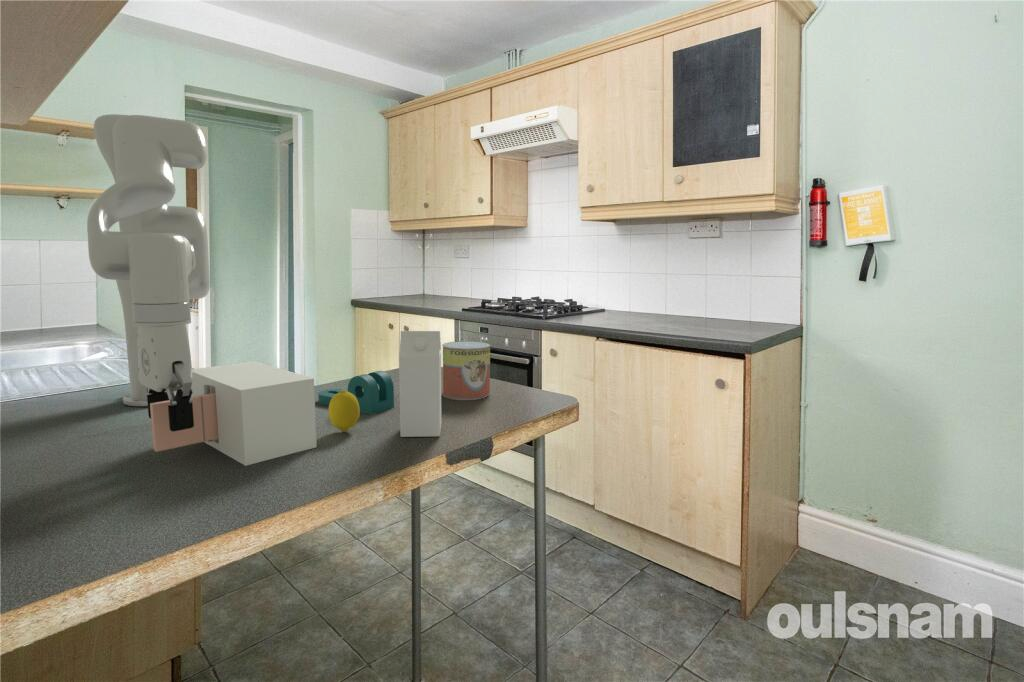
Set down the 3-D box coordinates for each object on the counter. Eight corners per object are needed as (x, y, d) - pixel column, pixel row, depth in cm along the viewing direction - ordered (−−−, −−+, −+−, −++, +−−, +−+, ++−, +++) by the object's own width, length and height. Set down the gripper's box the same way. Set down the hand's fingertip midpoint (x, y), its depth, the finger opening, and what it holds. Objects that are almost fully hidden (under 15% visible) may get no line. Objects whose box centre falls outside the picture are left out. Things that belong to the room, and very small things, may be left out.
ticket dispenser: (240, 467, 87) (235, 391, 85) (187, 436, 102) (182, 370, 100) (316, 447, 97) (313, 378, 95) (258, 421, 111) (254, 361, 109)
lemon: (332, 438, 101) (330, 394, 100) (326, 429, 106) (325, 388, 105) (363, 434, 104) (362, 391, 103) (356, 426, 109) (355, 385, 108)
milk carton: (404, 426, 109) (402, 328, 106) (441, 425, 110) (440, 328, 107) (400, 437, 102) (398, 333, 99) (439, 437, 103) (439, 333, 100)
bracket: (394, 408, 123) (393, 372, 122) (371, 415, 117) (370, 378, 116) (335, 396, 132) (334, 363, 131) (312, 403, 126) (310, 368, 125)
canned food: (454, 402, 127) (454, 349, 126) (435, 391, 137) (435, 343, 135) (498, 396, 133) (499, 346, 131) (477, 387, 143) (477, 340, 141)
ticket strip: (156, 451, 88) (152, 404, 86) (153, 450, 88) (149, 403, 87) (270, 427, 101) (268, 385, 100) (267, 425, 102) (264, 384, 101)
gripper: (117, 312, 90) (126, 417, 92) (153, 320, 78) (163, 440, 81) (169, 309, 95) (177, 408, 98) (210, 317, 84) (218, 429, 86)
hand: (170, 422), depth 89 cm, fingers open, 9 cm apart
